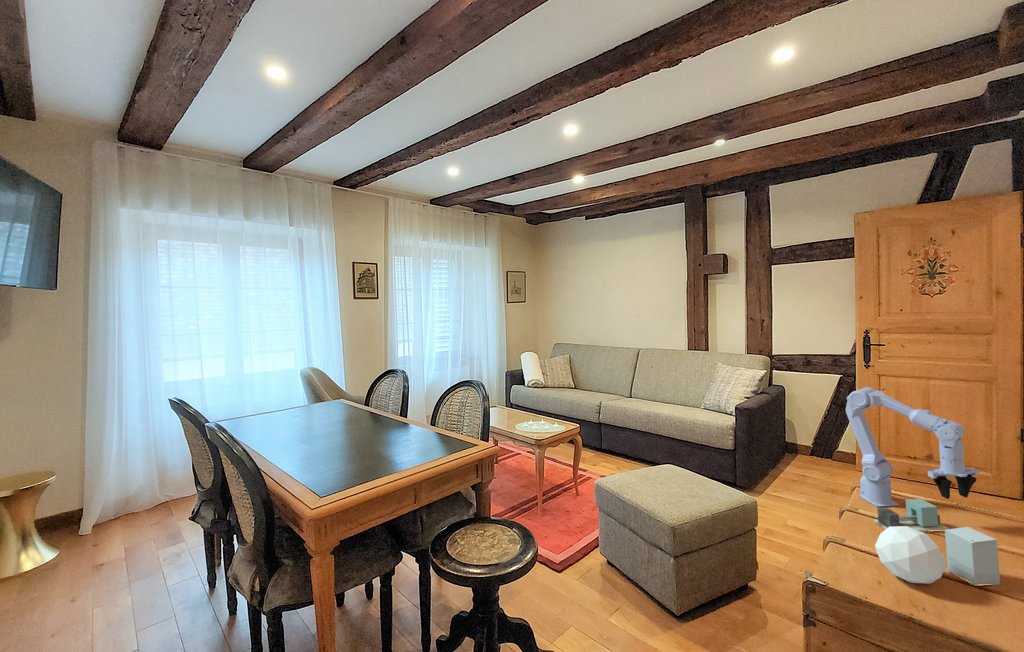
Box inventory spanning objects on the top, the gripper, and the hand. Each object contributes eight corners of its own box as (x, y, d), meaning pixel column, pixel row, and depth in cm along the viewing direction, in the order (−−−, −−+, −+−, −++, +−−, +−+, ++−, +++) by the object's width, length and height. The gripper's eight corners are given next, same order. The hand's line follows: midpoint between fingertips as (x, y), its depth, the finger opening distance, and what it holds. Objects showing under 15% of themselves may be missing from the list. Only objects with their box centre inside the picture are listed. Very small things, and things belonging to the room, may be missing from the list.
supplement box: (1001, 585, 114) (998, 539, 114) (974, 588, 114) (971, 542, 114) (971, 568, 121) (968, 526, 121) (946, 571, 121) (943, 528, 121)
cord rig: (873, 522, 149) (872, 506, 149) (927, 519, 148) (925, 502, 147) (892, 534, 141) (891, 517, 141) (949, 531, 140) (948, 513, 139)
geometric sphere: (922, 591, 121) (957, 552, 119) (922, 601, 111) (961, 558, 108) (866, 550, 131) (897, 513, 129) (861, 555, 121) (895, 515, 118)
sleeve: (906, 517, 147) (905, 499, 147) (921, 516, 147) (920, 498, 146) (922, 526, 141) (921, 507, 141) (938, 525, 141) (936, 506, 140)
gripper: (940, 463, 139) (943, 503, 139) (987, 460, 138) (989, 500, 138) (921, 456, 146) (923, 494, 146) (965, 452, 145) (967, 491, 145)
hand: (954, 496), depth 143 cm, fingers open, 5 cm apart
